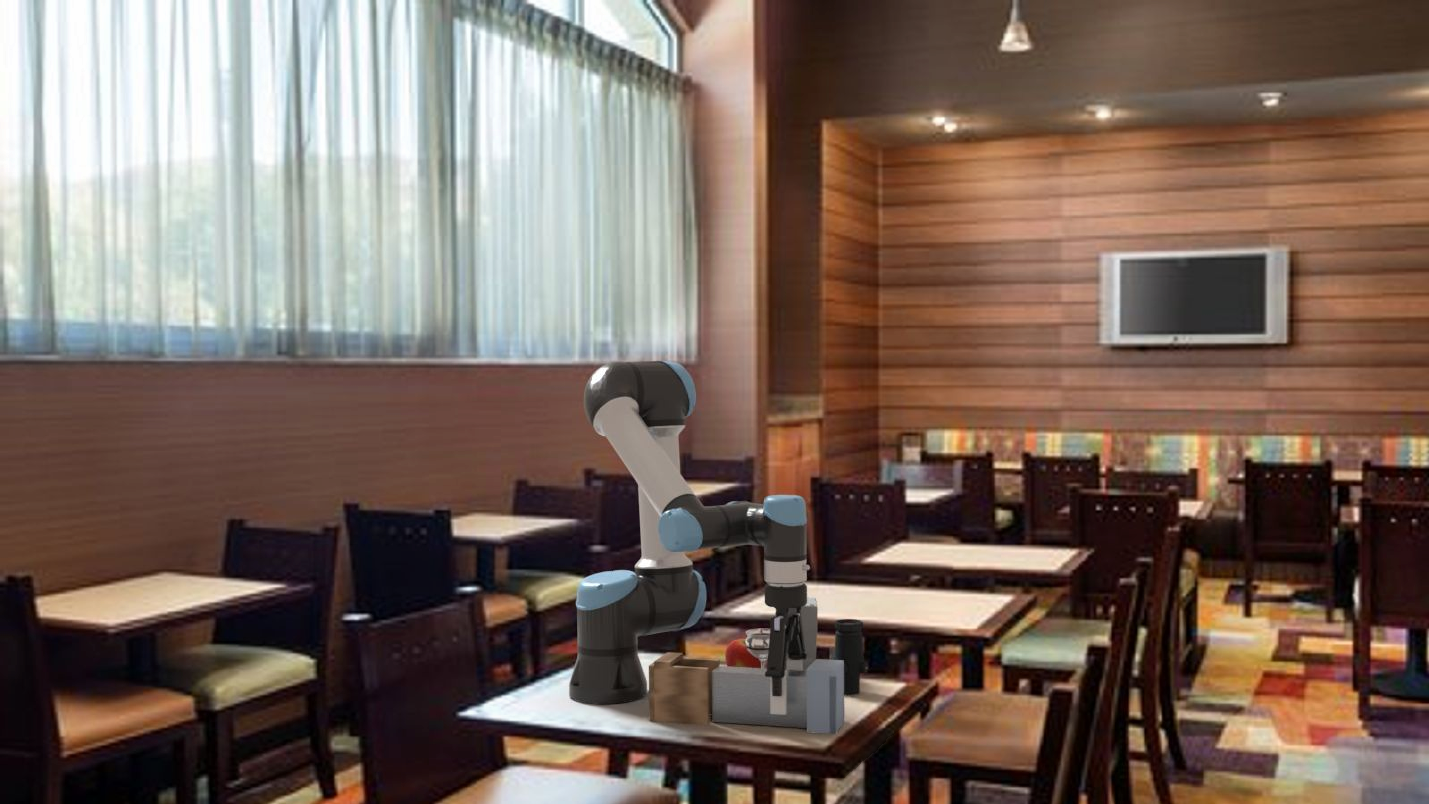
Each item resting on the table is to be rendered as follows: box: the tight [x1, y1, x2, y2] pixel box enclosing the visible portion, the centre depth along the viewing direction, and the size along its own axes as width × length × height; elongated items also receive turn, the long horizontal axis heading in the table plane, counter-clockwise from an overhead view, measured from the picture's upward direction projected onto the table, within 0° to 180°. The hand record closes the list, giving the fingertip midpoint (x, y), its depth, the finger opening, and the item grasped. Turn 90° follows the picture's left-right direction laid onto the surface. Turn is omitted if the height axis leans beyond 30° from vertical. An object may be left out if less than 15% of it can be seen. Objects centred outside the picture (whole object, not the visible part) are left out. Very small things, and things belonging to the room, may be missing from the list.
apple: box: [724, 634, 761, 668], centre depth 266 cm, size 8×8×10 cm
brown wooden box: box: [648, 651, 721, 726], centre depth 239 cm, size 11×8×11 cm
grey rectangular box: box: [711, 665, 807, 729], centre depth 235 cm, size 21×5×9 cm, turn 74°
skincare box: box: [785, 596, 819, 671], centre depth 269 cm, size 8×7×16 cm
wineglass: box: [745, 628, 770, 669], centre depth 256 cm, size 7×7×12 cm
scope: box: [825, 618, 870, 696], centre depth 256 cm, size 8×14×10 cm
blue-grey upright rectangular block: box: [806, 658, 845, 735], centre depth 232 cm, size 5×8×11 cm, turn 164°
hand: (786, 704), depth 234 cm, fingers open, 12 cm apart
